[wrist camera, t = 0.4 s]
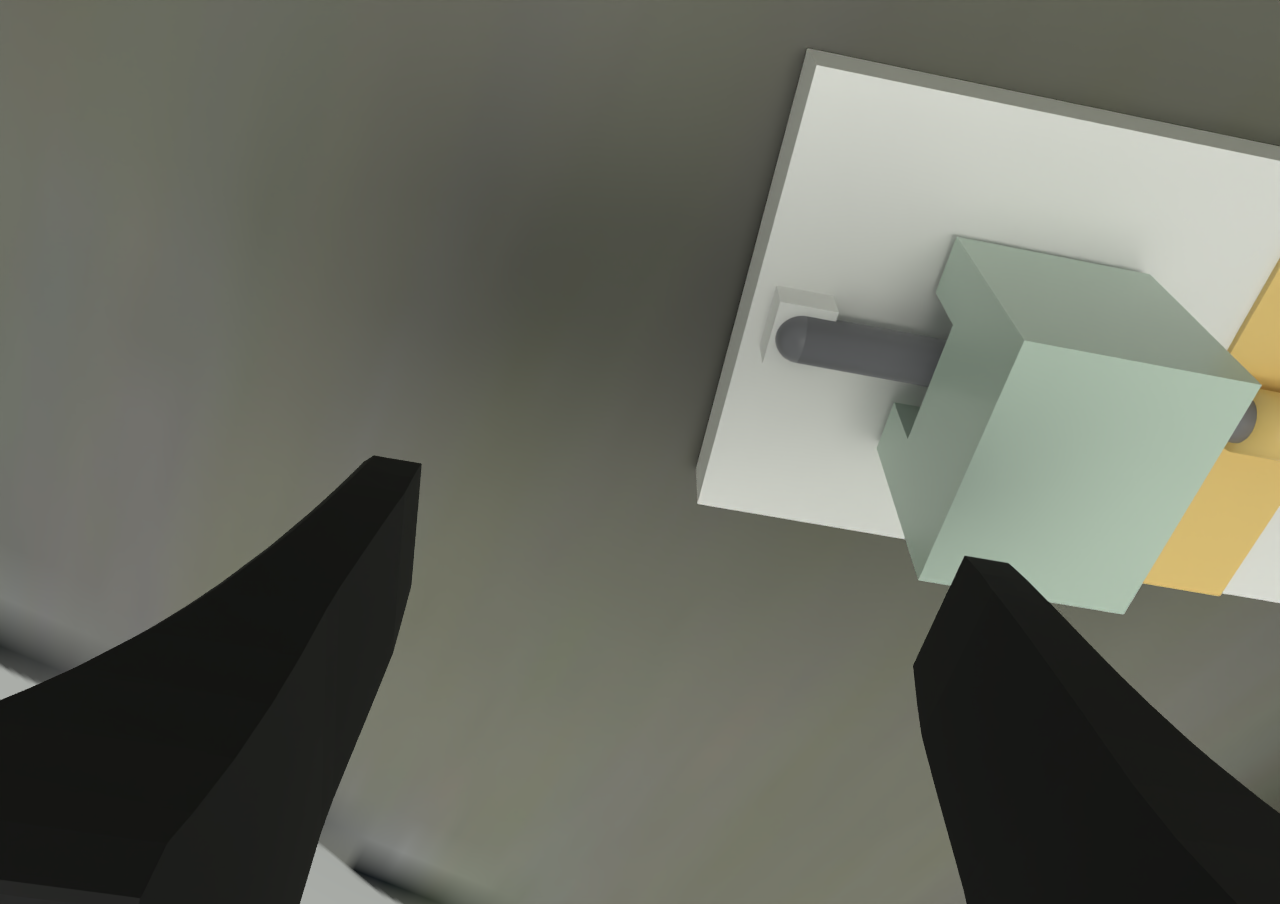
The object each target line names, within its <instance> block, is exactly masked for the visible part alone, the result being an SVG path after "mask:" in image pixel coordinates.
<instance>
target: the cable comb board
mask: <svg viewBox="0 0 1280 904" xmlns="http://www.w3.org/2000/svg"><path fill="white" fill-rule="evenodd" d="M956 237H961V238H967V239H972V240H977V241H982V242H987V243H992V244H997V245H1002V246H1007V247H1013V248H1018V249H1023V250H1028V251H1033V252H1038V253H1043V254H1048V255H1054V256H1059V257H1064V258H1069V259H1074V260H1079V261H1084V262H1089V263H1094V264H1100V265H1105V266H1110V267H1115V268H1120V269H1125V270H1130V271H1135V272H1140V273H1146V274H1150V275H1151V276H1152V277H1153V278H1154V279H1155V280H1156V281H1157V282H1158V283H1159V284H1160V285H1161V286H1162V287H1163V288H1164V289H1165V290H1166V291H1167V292H1168V293H1169V294H1170V295H1171V296H1173V297H1174V298H1175V299H1176V300H1177V301H1178V302H1179V303H1180V304H1181V305H1182V306H1183V307H1184V308H1185V309H1186V310H1187V311H1188V312H1189V313H1190V314H1191V315H1192V316H1193V317H1194V318H1195V319H1196V320H1197V321H1198V322H1199V323H1200V324H1201V325H1202V326H1203V327H1204V328H1205V329H1206V330H1207V331H1208V332H1209V333H1210V334H1211V335H1212V336H1213V337H1214V338H1215V339H1216V340H1217V341H1218V342H1219V343H1220V344H1221V345H1222V346H1223V347H1224V348H1225V349H1226V350H1227V351H1228V352H1229V353H1230V354H1231V355H1232V356H1233V357H1234V358H1235V359H1236V360H1237V361H1238V362H1239V363H1240V364H1241V365H1242V366H1243V367H1244V368H1245V369H1246V370H1247V371H1248V372H1249V373H1250V374H1251V375H1252V376H1253V377H1254V378H1255V379H1256V380H1257V381H1258V382H1259V383H1260V384H1261V385H1262V386H1261V387H1260V389H1259V391H1258V392H1257V394H1256V396H1255V397H1254V399H1253V401H1252V402H1251V404H1250V406H1249V407H1248V409H1247V411H1246V412H1245V414H1244V416H1243V417H1242V419H1241V421H1240V422H1239V424H1238V425H1237V427H1236V429H1235V430H1234V432H1233V434H1232V435H1231V437H1230V439H1229V440H1228V442H1227V444H1226V445H1225V447H1224V449H1223V450H1222V452H1221V454H1220V455H1219V457H1218V459H1217V460H1216V462H1215V464H1214V465H1213V467H1212V469H1211V470H1210V472H1209V474H1208V475H1207V477H1206V479H1205V480H1204V482H1203V484H1202V485H1201V487H1200V489H1199V490H1198V492H1197V494H1196V495H1195V497H1194V499H1193V500H1192V502H1191V504H1190V505H1189V507H1188V508H1187V510H1186V512H1185V513H1184V515H1183V517H1182V518H1181V520H1180V522H1179V523H1178V525H1177V527H1176V528H1175V530H1174V532H1173V533H1172V535H1171V537H1170V538H1169V540H1168V542H1167V543H1166V545H1165V547H1164V548H1163V550H1162V552H1161V553H1160V555H1159V557H1158V558H1157V560H1156V562H1155V563H1154V565H1153V567H1152V568H1151V570H1150V572H1149V573H1148V575H1147V577H1146V578H1145V580H1144V582H1143V583H1144V584H1150V585H1156V586H1162V587H1168V588H1174V589H1180V590H1185V591H1191V592H1197V593H1203V594H1209V595H1215V596H1220V595H1221V594H1222V593H1224V594H1230V595H1236V596H1242V597H1248V598H1254V599H1259V600H1265V601H1271V602H1277V603H1280V146H1275V145H1271V144H1266V143H1261V142H1256V141H1251V140H1247V139H1242V138H1237V137H1232V136H1227V135H1223V134H1218V133H1213V132H1208V131H1203V130H1199V129H1194V128H1189V127H1184V126H1179V125H1175V124H1170V123H1165V122H1160V121H1155V120H1151V119H1146V118H1141V117H1136V116H1131V115H1127V114H1122V113H1117V112H1112V111H1107V110H1103V109H1098V108H1093V107H1088V106H1083V105H1079V104H1074V103H1069V102H1064V101H1059V100H1055V99H1050V98H1045V97H1040V96H1035V95H1031V94H1026V93H1021V92H1016V91H1011V90H1007V89H1002V88H997V87H992V86H987V85H983V84H978V83H973V82H968V81H963V80H959V79H954V78H949V77H944V76H939V75H935V74H930V73H925V72H920V71H915V70H911V69H906V68H901V67H896V66H891V65H887V64H882V63H877V62H872V61H867V60H863V59H858V58H853V57H848V56H843V55H839V54H834V53H829V52H824V51H819V50H815V49H810V48H807V51H806V55H805V59H804V63H803V66H802V70H801V74H800V78H799V81H798V85H797V89H796V93H795V97H794V100H793V104H792V108H791V112H790V115H789V119H788V123H787V127H786V131H785V134H784V138H783V142H782V146H781V149H780V153H779V157H778V161H777V165H776V168H775V172H774V176H773V180H772V183H771V187H770V191H769V195H768V198H767V202H766V206H765V210H764V214H763V217H762V221H761V225H760V229H759V232H758V236H757V240H756V244H755V248H754V251H753V255H752V259H751V263H750V266H749V270H748V274H747V278H746V282H745V285H744V289H743V293H742V297H741V300H740V304H739V308H738V312H737V316H736V319H735V323H734V327H733V331H732V334H731V338H730V342H729V346H728V350H727V353H726V357H725V361H724V365H723V368H722V372H721V376H720V380H719V383H718V387H717V391H716V395H715V399H714V402H713V406H712V410H711V414H710V417H709V421H708V425H707V429H706V433H705V436H704V440H703V444H702V448H701V451H700V455H699V459H698V463H697V467H696V481H697V504H701V505H707V506H713V507H719V508H725V509H731V510H736V511H742V512H748V513H754V514H760V515H766V516H772V517H778V518H783V519H789V520H795V521H801V522H807V523H813V524H819V525H825V526H831V527H836V528H842V529H848V530H854V531H860V532H866V533H872V534H878V535H883V536H889V537H895V538H901V539H905V537H904V534H903V530H902V527H901V524H900V521H899V518H898V515H897V511H896V508H895V505H894V502H893V499H892V496H891V492H890V489H889V486H888V483H887V480H886V477H885V473H884V470H883V467H882V464H881V461H880V458H879V454H878V451H877V446H878V443H879V441H880V438H881V435H882V433H883V430H884V427H885V425H886V422H887V419H888V417H889V414H890V411H891V409H892V406H893V404H894V402H895V403H901V404H906V405H912V406H917V407H921V404H922V402H923V399H924V397H925V394H926V392H927V389H928V387H929V384H930V382H931V379H932V377H933V374H934V372H935V369H936V367H937V364H938V361H939V359H940V356H941V354H942V351H943V349H944V346H945V344H946V341H947V339H948V336H949V334H950V331H951V329H952V326H953V324H952V322H951V321H950V319H949V317H948V315H947V313H946V311H945V309H944V307H943V306H942V304H941V302H940V300H939V298H938V296H937V294H936V290H937V287H938V285H939V282H940V279H941V277H942V274H943V271H944V269H945V266H946V263H947V261H948V258H949V255H950V253H951V250H952V248H953V245H954V242H955V240H956Z"/></svg>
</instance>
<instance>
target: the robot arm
mask: <svg viewBox="0 0 1280 904" xmlns="http://www.w3.org/2000/svg"><path fill="white" fill-rule="evenodd" d="M421 465H422V464H421V463H415V462H409V461H403V460H397V459H391V458H385V457H379V456H372V457H371V458H369V459H368V460H366V461H364V462H363V463H362V464H361V465H360V466H359V467H358V468H357V469H356V470H355V471H354V472H353V473H352V474H351V475H350V476H349V477H348V478H347V479H346V480H345V481H344V482H343V483H342V484H341V485H340V486H339V487H338V488H337V489H335V490H334V491H333V492H332V493H331V494H330V495H329V496H328V497H327V498H326V499H325V500H323V501H322V502H321V503H320V504H319V505H318V506H317V507H316V508H315V509H314V510H312V511H311V512H310V513H309V514H308V515H307V516H305V517H304V518H303V519H302V520H301V521H300V522H298V523H297V524H296V525H295V526H294V527H292V528H291V529H290V530H289V531H288V532H286V533H285V534H284V535H283V536H282V537H281V538H279V539H278V540H277V541H276V542H275V543H273V544H272V545H271V546H270V547H268V548H267V549H266V550H264V551H263V552H262V553H260V554H259V555H258V556H256V557H255V558H254V559H252V560H251V561H250V562H248V563H247V564H246V565H244V566H243V567H242V568H240V569H239V570H238V571H236V572H235V573H234V574H232V575H231V576H230V577H228V578H227V579H226V580H224V581H223V582H222V583H220V584H219V585H217V586H216V587H214V588H213V589H211V590H210V591H208V592H207V593H205V594H204V595H203V596H201V597H200V598H198V599H197V600H195V601H193V602H192V603H190V604H189V605H187V606H186V607H184V608H183V609H181V610H179V611H178V612H176V613H174V614H173V615H171V616H170V617H168V618H166V619H165V620H163V621H161V622H160V623H158V624H156V625H155V626H153V627H151V628H150V629H148V630H146V631H144V632H142V633H141V634H139V635H137V636H135V637H133V638H132V639H130V640H128V641H126V642H124V643H122V644H120V645H118V646H116V647H114V648H112V649H110V650H108V651H106V652H105V653H103V654H101V655H99V656H97V657H95V658H93V659H91V660H89V661H87V662H85V663H83V664H81V665H79V666H77V667H75V668H73V669H71V670H69V671H67V672H65V673H62V674H60V675H58V676H56V677H53V678H51V679H49V680H47V681H44V682H42V683H40V684H38V685H35V686H33V687H31V688H29V689H26V690H24V691H22V692H19V693H17V694H14V695H12V696H9V697H7V698H5V699H2V700H0V904H300V901H301V898H302V894H303V891H304V887H305V884H306V881H307V877H308V874H309V871H310V868H311V864H312V861H313V857H314V854H315V851H316V847H317V844H318V841H319V837H320V834H321V831H322V828H323V826H324V823H325V820H326V817H327V815H328V812H329V809H330V806H331V803H332V801H333V798H334V796H335V793H336V791H337V788H338V786H339V784H340V781H341V779H342V776H343V774H344V771H345V769H346V767H347V764H348V762H349V759H350V757H351V754H352V752H353V750H354V747H355V745H356V742H357V740H358V737H359V735H360V733H361V730H362V728H363V725H364V723H365V720H366V718H367V716H368V713H369V711H370V708H371V706H372V703H373V701H374V698H375V696H376V694H377V691H378V689H379V686H380V684H381V681H382V679H383V676H384V674H385V671H386V669H387V666H388V664H389V661H390V659H391V656H392V654H393V651H394V647H395V644H396V640H397V636H398V633H399V629H400V626H401V622H402V618H403V615H404V611H405V607H406V603H407V600H408V596H409V592H410V588H411V583H412V571H413V559H414V547H415V536H416V524H417V512H418V500H419V489H420V477H421ZM913 669H914V678H915V688H916V697H917V706H918V713H919V720H920V727H921V734H922V738H923V742H924V746H925V750H926V754H927V758H928V762H929V765H930V769H931V773H932V777H933V780H934V784H935V788H936V792H937V795H938V799H939V803H940V806H941V810H942V813H943V817H944V821H945V824H946V828H947V831H948V835H949V839H950V842H951V846H952V850H953V853H954V857H955V860H956V864H957V868H958V871H959V875H960V878H961V882H962V886H963V889H964V894H965V898H966V902H967V904H1280V813H1278V812H1277V811H1276V810H1274V809H1273V808H1272V807H1270V806H1269V805H1268V804H1266V803H1265V802H1264V801H1262V800H1261V799H1260V798H1259V797H1257V796H1256V795H1255V794H1254V793H1252V792H1251V791H1250V790H1249V789H1247V788H1246V787H1245V786H1244V785H1242V784H1241V783H1240V782H1239V781H1237V780H1236V779H1235V778H1234V777H1233V776H1231V775H1230V774H1229V773H1228V772H1226V771H1225V770H1224V769H1223V768H1221V767H1220V766H1219V765H1218V764H1216V763H1215V762H1214V761H1213V760H1211V759H1210V758H1209V757H1208V756H1207V755H1206V754H1205V753H1203V752H1202V751H1201V750H1200V749H1199V748H1198V747H1196V746H1195V745H1194V744H1193V743H1192V742H1191V741H1189V740H1188V739H1187V738H1186V737H1185V736H1184V735H1183V734H1182V733H1181V732H1180V731H1178V730H1177V729H1176V728H1175V727H1174V726H1173V725H1172V724H1171V723H1170V722H1169V721H1168V720H1167V719H1165V718H1164V717H1163V716H1162V715H1161V714H1160V713H1159V712H1158V711H1157V710H1156V709H1155V708H1153V707H1152V706H1151V705H1150V704H1149V703H1148V702H1147V701H1146V700H1145V699H1144V698H1143V697H1142V696H1141V695H1140V694H1139V693H1138V692H1137V691H1136V690H1135V689H1134V688H1133V687H1132V686H1131V685H1129V684H1128V683H1127V682H1126V681H1125V680H1124V679H1123V678H1122V677H1121V676H1120V675H1119V674H1118V673H1117V672H1116V671H1115V670H1114V669H1113V668H1112V667H1111V666H1110V665H1109V664H1108V663H1107V662H1106V661H1105V660H1104V659H1103V658H1102V657H1101V655H1100V654H1099V653H1098V652H1097V651H1096V650H1095V649H1094V648H1093V647H1092V646H1091V645H1090V644H1089V643H1088V642H1087V641H1086V640H1085V639H1084V638H1083V637H1082V636H1081V635H1080V634H1079V633H1078V632H1077V631H1076V630H1075V629H1074V628H1073V627H1072V626H1071V625H1070V623H1069V622H1068V621H1067V620H1066V619H1065V618H1064V617H1063V616H1062V615H1061V614H1060V613H1059V612H1058V611H1057V610H1056V609H1055V608H1054V607H1053V606H1052V605H1051V604H1050V603H1049V602H1048V601H1047V600H1046V599H1045V598H1044V597H1043V596H1042V595H1041V594H1040V592H1039V591H1038V590H1037V589H1036V588H1035V587H1034V586H1033V585H1032V584H1031V583H1030V582H1029V581H1028V580H1026V579H1025V578H1024V577H1023V576H1022V575H1021V574H1020V573H1019V572H1018V571H1017V570H1016V569H1015V568H1014V567H1013V566H1011V565H1010V564H1009V563H1006V562H1000V561H994V560H988V559H982V558H976V557H970V556H964V558H963V560H962V562H961V564H960V566H959V568H958V571H957V573H956V575H955V577H954V579H953V581H952V583H951V586H950V588H949V590H948V592H947V594H946V596H945V598H944V601H943V603H942V605H941V607H940V609H939V611H938V613H937V616H936V618H935V620H934V622H933V624H932V626H931V628H930V631H929V633H928V635H927V637H926V639H925V641H924V643H923V646H922V648H921V650H920V652H919V654H918V656H917V658H916V661H915V663H914V665H913Z"/></svg>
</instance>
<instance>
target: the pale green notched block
mask: <svg viewBox="0 0 1280 904" xmlns="http://www.w3.org/2000/svg"><path fill="white" fill-rule="evenodd" d="M936 294H937V296H938V298H939V300H940V302H941V304H942V306H943V307H944V309H945V311H946V313H947V315H948V317H949V319H950V321H951V322H952V324H953V326H952V329H951V331H950V334H949V336H948V339H947V341H946V344H945V346H944V349H943V351H942V354H941V356H940V359H939V361H938V364H937V367H936V369H935V372H934V374H933V377H932V379H931V382H930V384H929V387H928V389H927V392H926V394H925V397H924V399H923V402H922V404H921V407H917V406H912V405H906V404H901V403H895V402H894V404H893V406H892V409H891V411H890V414H889V417H888V419H887V422H886V425H885V427H884V430H883V433H882V435H881V438H880V441H879V443H878V446H877V451H878V454H879V458H880V461H881V464H882V467H883V470H884V473H885V477H886V480H887V483H888V486H889V489H890V492H891V496H892V499H893V502H894V505H895V508H896V511H897V515H898V518H899V521H900V524H901V527H902V530H903V534H904V537H905V540H906V543H907V546H908V549H909V553H910V556H911V559H912V562H913V565H914V568H915V572H916V575H917V578H918V580H920V581H926V582H932V583H938V584H944V585H950V586H951V583H952V581H953V579H954V577H955V575H956V573H957V571H958V568H959V566H960V564H961V562H962V560H963V558H964V556H970V557H976V558H982V559H988V560H994V561H1000V562H1006V563H1009V564H1010V565H1011V566H1013V567H1014V568H1015V569H1016V570H1017V571H1018V572H1019V573H1020V574H1021V575H1022V576H1023V577H1024V578H1025V579H1026V580H1028V581H1029V582H1030V583H1031V584H1032V585H1033V586H1034V587H1035V588H1036V589H1037V590H1038V591H1039V592H1040V594H1041V595H1042V596H1043V597H1044V598H1045V599H1046V600H1047V601H1048V602H1052V603H1058V604H1064V605H1070V606H1076V607H1082V608H1088V609H1094V610H1100V611H1105V612H1111V613H1117V614H1123V615H1124V613H1125V611H1126V610H1127V608H1128V606H1129V605H1130V603H1131V601H1132V600H1133V598H1134V596H1135V595H1136V593H1137V592H1138V590H1139V588H1140V587H1141V585H1142V583H1143V582H1144V580H1145V578H1146V577H1147V575H1148V573H1149V572H1150V570H1151V568H1152V567H1153V565H1154V563H1155V562H1156V560H1157V558H1158V557H1159V555H1160V553H1161V552H1162V550H1163V548H1164V547H1165V545H1166V543H1167V542H1168V540H1169V538H1170V537H1171V535H1172V533H1173V532H1174V530H1175V528H1176V527H1177V525H1178V523H1179V522H1180V520H1181V518H1182V517H1183V515H1184V513H1185V512H1186V510H1187V508H1188V507H1189V505H1190V504H1191V502H1192V500H1193V499H1194V497H1195V495H1196V494H1197V492H1198V490H1199V489H1200V487H1201V485H1202V484H1203V482H1204V480H1205V479H1206V477H1207V475H1208V474H1209V472H1210V470H1211V469H1212V467H1213V465H1214V464H1215V462H1216V460H1217V459H1218V457H1219V455H1220V454H1221V452H1222V450H1223V449H1224V447H1225V445H1226V444H1227V442H1228V440H1229V439H1230V437H1231V435H1232V434H1233V432H1234V430H1235V429H1236V427H1237V425H1238V424H1239V422H1240V421H1241V419H1242V417H1243V416H1244V414H1245V412H1246V411H1247V409H1248V407H1249V406H1250V404H1251V402H1252V401H1253V399H1254V397H1255V396H1256V394H1257V392H1258V391H1259V389H1260V387H1261V386H1262V385H1261V384H1260V383H1259V382H1258V381H1257V380H1256V379H1255V378H1254V377H1253V376H1252V375H1251V374H1250V373H1249V372H1248V371H1247V370H1246V369H1245V368H1244V367H1243V366H1242V365H1241V364H1240V363H1239V362H1238V361H1237V360H1236V359H1235V358H1234V357H1233V356H1232V355H1231V354H1230V353H1229V352H1228V351H1227V350H1226V349H1225V348H1224V347H1223V346H1222V345H1221V344H1220V343H1219V342H1218V341H1217V340H1216V339H1215V338H1214V337H1213V336H1212V335H1211V334H1210V333H1209V332H1208V331H1207V330H1206V329H1205V328H1204V327H1203V326H1202V325H1201V324H1200V323H1199V322H1198V321H1197V320H1196V319H1195V318H1194V317H1193V316H1192V315H1191V314H1190V313H1189V312H1188V311H1187V310H1186V309H1185V308H1184V307H1183V306H1182V305H1181V304H1180V303H1179V302H1178V301H1177V300H1176V299H1175V298H1174V297H1173V296H1171V295H1170V294H1169V293H1168V292H1167V291H1166V290H1165V289H1164V288H1163V287H1162V286H1161V285H1160V284H1159V283H1158V282H1157V281H1156V280H1155V279H1154V278H1153V277H1152V276H1151V275H1150V274H1146V273H1140V272H1135V271H1130V270H1125V269H1120V268H1115V267H1110V266H1105V265H1100V264H1094V263H1089V262H1084V261H1079V260H1074V259H1069V258H1064V257H1059V256H1054V255H1048V254H1043V253H1038V252H1033V251H1028V250H1023V249H1018V248H1013V247H1007V246H1002V245H997V244H992V243H987V242H982V241H977V240H972V239H967V238H961V237H956V240H955V242H954V245H953V248H952V250H951V253H950V255H949V258H948V261H947V263H946V266H945V269H944V271H943V274H942V277H941V279H940V282H939V285H938V287H937V290H936Z"/></svg>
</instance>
